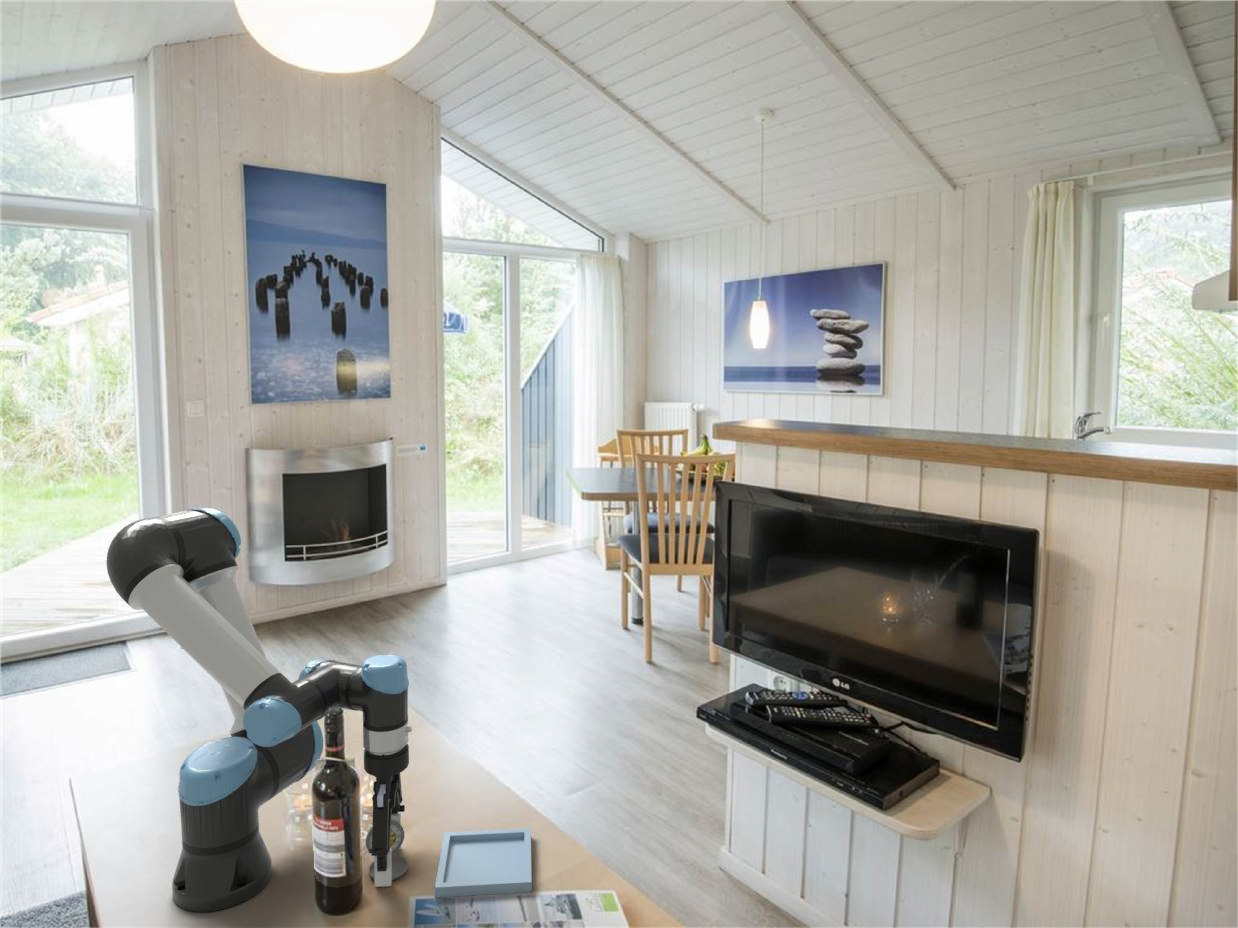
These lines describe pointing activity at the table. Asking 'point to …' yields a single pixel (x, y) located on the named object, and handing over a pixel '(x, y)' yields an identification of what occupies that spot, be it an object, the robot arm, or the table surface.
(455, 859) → the tray
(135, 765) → the table surface
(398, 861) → the pocket watch
